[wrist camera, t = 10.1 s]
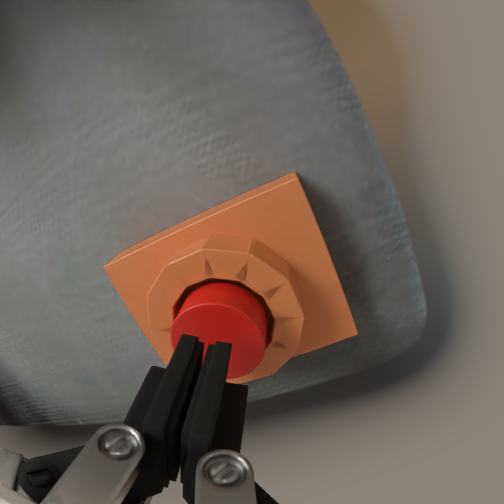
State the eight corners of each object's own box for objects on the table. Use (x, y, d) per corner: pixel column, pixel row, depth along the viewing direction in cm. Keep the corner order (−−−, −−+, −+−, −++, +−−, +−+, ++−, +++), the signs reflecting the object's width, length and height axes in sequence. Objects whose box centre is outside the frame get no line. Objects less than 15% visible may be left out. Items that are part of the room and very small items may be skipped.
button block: (295, 171, 14) (301, 183, 11) (350, 311, 17) (366, 357, 13) (121, 251, 17) (84, 282, 13) (191, 364, 19) (174, 410, 15)
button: (244, 268, 12) (238, 289, 11) (280, 340, 13) (280, 366, 12) (166, 298, 13) (152, 320, 11) (207, 362, 14) (199, 388, 12)
